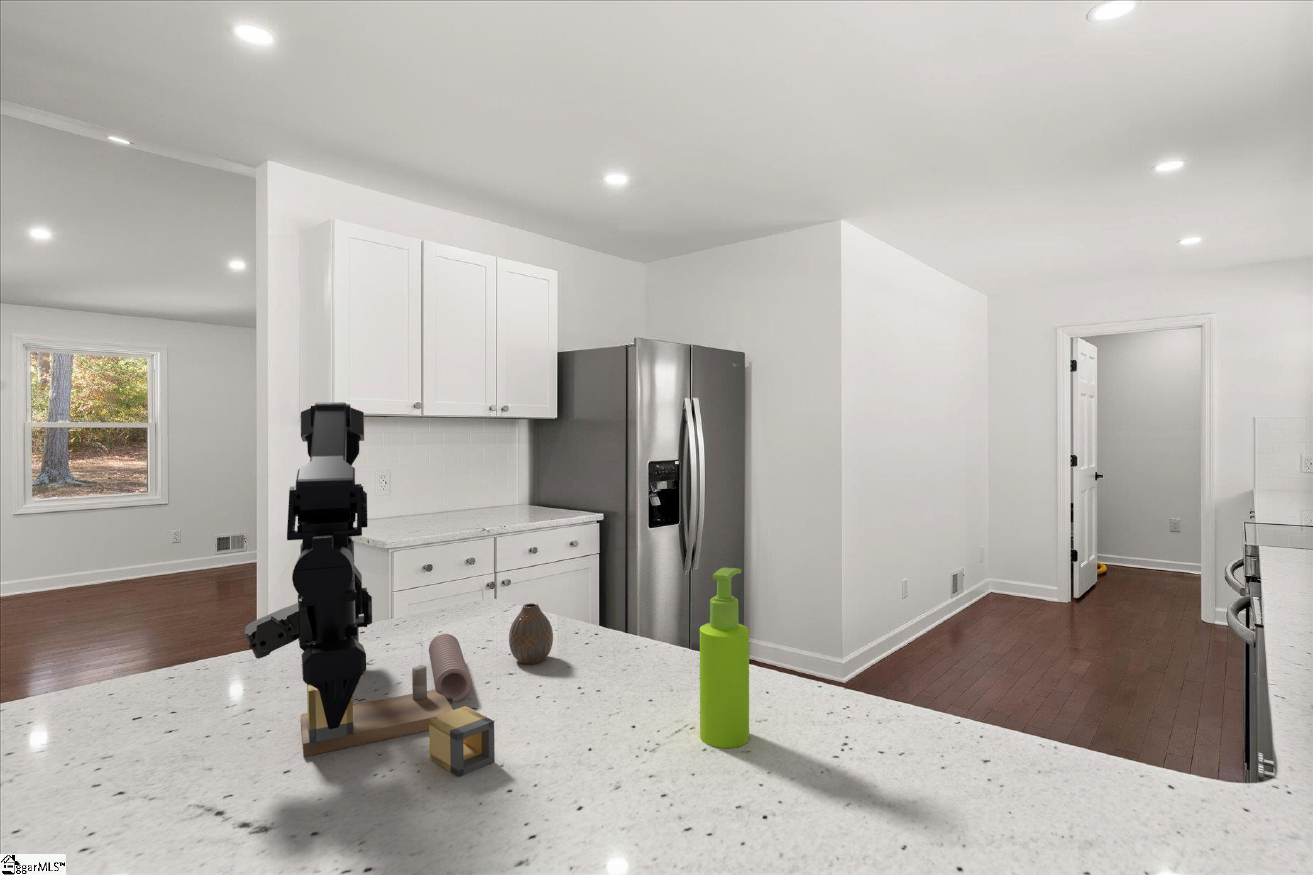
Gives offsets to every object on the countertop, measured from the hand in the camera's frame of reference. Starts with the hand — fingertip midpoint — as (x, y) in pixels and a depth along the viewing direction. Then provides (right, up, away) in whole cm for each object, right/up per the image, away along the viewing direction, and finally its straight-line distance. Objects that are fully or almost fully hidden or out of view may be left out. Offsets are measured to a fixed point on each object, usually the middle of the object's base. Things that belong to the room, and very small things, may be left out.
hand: (330, 713), depth 83 cm
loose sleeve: (0, -2, 0) cm, 2 cm away
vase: (+19, -3, +29) cm, 34 cm away
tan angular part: (+19, -1, -6) cm, 20 cm away
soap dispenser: (+47, -4, +2) cm, 47 cm away
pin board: (+4, -4, +5) cm, 7 cm away
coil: (+8, -3, +20) cm, 22 cm away
